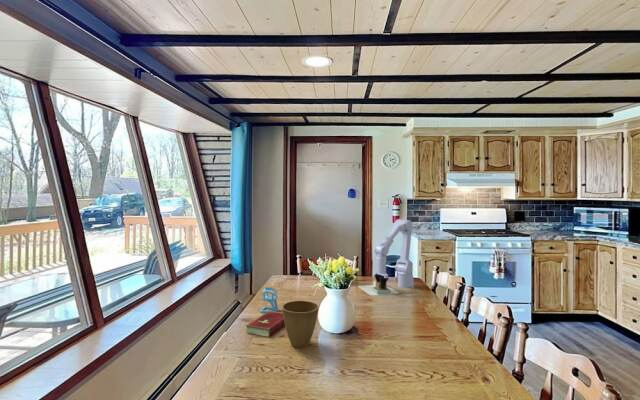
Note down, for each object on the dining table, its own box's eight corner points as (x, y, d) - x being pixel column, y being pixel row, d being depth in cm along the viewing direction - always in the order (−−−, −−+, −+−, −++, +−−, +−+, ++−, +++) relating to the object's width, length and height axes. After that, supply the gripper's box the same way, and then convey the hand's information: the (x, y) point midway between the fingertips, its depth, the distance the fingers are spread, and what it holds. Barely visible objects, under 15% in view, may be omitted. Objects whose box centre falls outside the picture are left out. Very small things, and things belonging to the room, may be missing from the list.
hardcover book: (290, 322, 184) (290, 313, 183) (269, 338, 164) (269, 328, 164) (268, 318, 188) (269, 310, 188) (245, 333, 169) (245, 324, 168)
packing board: (383, 285, 251) (384, 280, 251) (399, 294, 230) (399, 289, 230) (356, 287, 246) (357, 282, 246) (370, 296, 225) (370, 291, 225)
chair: (275, 314, 194) (275, 290, 193) (259, 312, 196) (259, 289, 195) (279, 309, 201) (280, 286, 201) (264, 307, 203) (265, 285, 203)
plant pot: (274, 346, 155) (274, 307, 154) (296, 334, 167) (297, 298, 167) (304, 355, 147) (304, 314, 146) (325, 342, 159) (325, 304, 158)
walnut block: (382, 287, 235) (383, 281, 235) (386, 290, 230) (386, 283, 230) (375, 288, 234) (375, 281, 233) (378, 290, 229) (379, 283, 229)
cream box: (380, 285, 248) (380, 279, 248) (384, 287, 243) (384, 281, 243) (373, 285, 246) (373, 279, 246) (376, 287, 241) (376, 281, 241)
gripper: (370, 263, 237) (370, 284, 238) (380, 267, 223) (380, 290, 224) (380, 262, 239) (380, 283, 240) (391, 267, 225) (391, 290, 226)
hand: (381, 287), depth 232 cm, fingers closed on walnut block, 5 cm apart
